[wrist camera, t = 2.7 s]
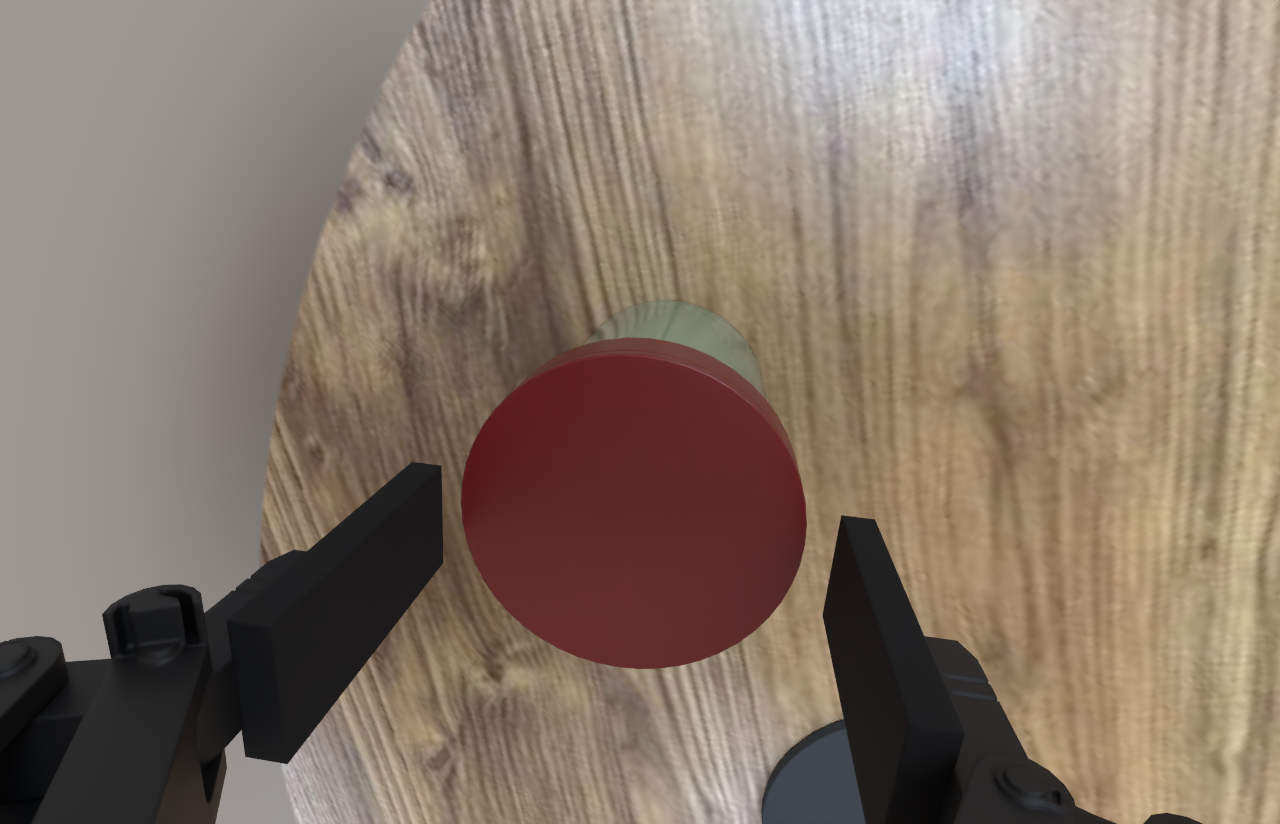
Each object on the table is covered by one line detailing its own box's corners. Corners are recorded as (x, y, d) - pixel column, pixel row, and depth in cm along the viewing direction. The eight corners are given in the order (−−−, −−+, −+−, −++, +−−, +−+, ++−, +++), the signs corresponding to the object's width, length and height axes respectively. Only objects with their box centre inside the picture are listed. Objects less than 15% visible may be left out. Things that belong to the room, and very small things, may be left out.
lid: (484, 606, 21) (461, 645, 19) (484, 321, 18) (458, 336, 16) (775, 646, 20) (780, 690, 18) (823, 354, 17) (834, 374, 16)
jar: (568, 473, 29) (485, 621, 19) (576, 291, 27) (485, 354, 17) (750, 495, 29) (762, 660, 19) (776, 310, 26) (805, 387, 16)
